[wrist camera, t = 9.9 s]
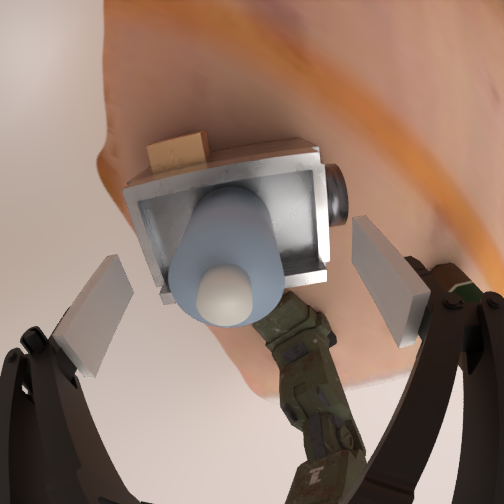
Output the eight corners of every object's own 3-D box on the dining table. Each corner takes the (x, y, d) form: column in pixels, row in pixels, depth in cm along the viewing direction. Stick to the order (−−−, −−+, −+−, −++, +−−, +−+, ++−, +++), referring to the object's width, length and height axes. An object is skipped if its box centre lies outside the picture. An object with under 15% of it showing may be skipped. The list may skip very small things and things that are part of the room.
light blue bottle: (265, 180, 18) (282, 237, 10) (275, 253, 20) (293, 340, 13) (182, 195, 18) (142, 260, 10) (202, 265, 20) (183, 352, 13)
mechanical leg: (357, 349, 34) (397, 571, 5) (314, 374, 36) (312, 585, 8) (297, 276, 31) (285, 592, 3) (249, 310, 34) (171, 572, 5)
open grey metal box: (320, 113, 21) (356, 116, 14) (330, 229, 26) (359, 275, 19) (147, 144, 21) (106, 161, 14) (177, 253, 27) (157, 305, 20)
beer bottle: (458, 292, 31) (543, 418, 10) (416, 317, 33) (491, 462, 12) (458, 251, 28) (572, 387, 7) (411, 277, 29) (515, 445, 8)
